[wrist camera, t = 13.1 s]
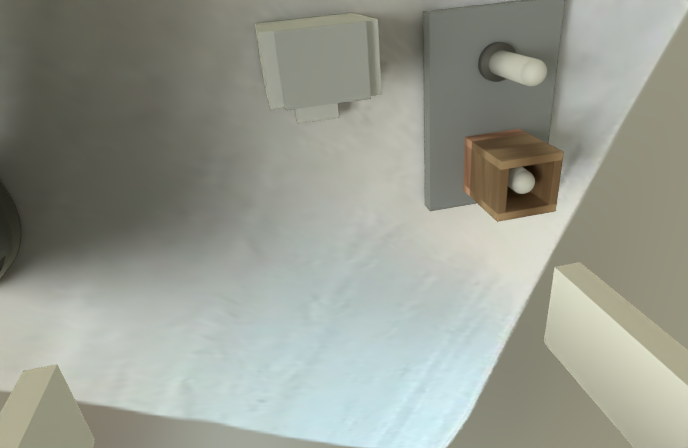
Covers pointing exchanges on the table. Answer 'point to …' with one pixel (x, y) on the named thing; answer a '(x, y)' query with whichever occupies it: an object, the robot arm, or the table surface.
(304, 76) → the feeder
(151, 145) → the table surface
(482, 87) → the pinboard
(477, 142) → the sleeve
